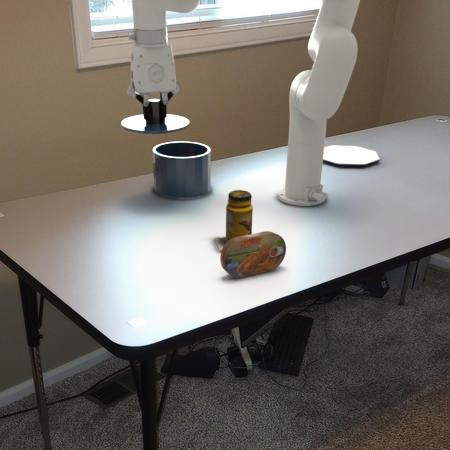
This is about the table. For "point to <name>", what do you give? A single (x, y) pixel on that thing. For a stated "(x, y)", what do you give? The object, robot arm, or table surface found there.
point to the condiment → (237, 216)
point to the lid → (155, 122)
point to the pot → (182, 169)
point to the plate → (349, 155)
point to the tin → (253, 254)
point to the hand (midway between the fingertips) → (155, 121)
